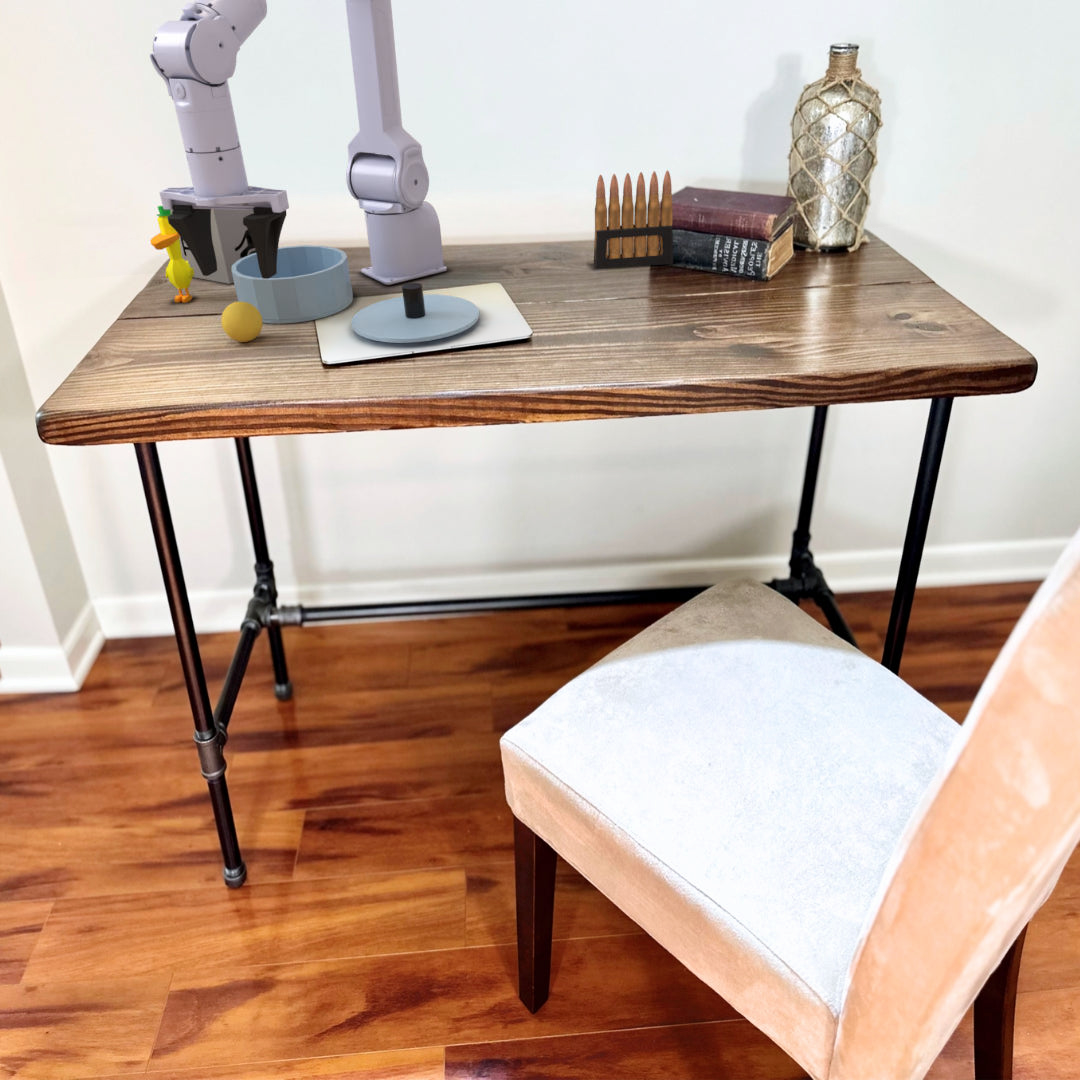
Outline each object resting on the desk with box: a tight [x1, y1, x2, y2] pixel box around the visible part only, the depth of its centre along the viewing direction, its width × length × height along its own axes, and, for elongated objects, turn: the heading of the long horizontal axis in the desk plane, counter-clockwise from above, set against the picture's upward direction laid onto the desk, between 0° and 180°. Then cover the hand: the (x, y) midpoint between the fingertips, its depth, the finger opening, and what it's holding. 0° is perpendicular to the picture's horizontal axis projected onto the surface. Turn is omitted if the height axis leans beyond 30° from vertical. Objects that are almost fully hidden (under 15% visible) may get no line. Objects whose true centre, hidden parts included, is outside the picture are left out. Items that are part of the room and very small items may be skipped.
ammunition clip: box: [593, 169, 674, 270], centre depth 129 cm, size 11×2×12 cm, turn 95°
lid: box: [351, 282, 480, 344], centre depth 115 cm, size 15×15×5 cm
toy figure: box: [150, 205, 194, 304], centre depth 125 cm, size 7×4×12 cm, turn 170°
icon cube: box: [171, 209, 280, 285], centre depth 136 cm, size 10×10×10 cm
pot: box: [232, 244, 354, 324], centre depth 123 cm, size 14×14×6 cm
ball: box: [220, 301, 263, 343], centre depth 113 cm, size 5×5×5 cm
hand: (239, 274), depth 110 cm, fingers open, 7 cm apart
